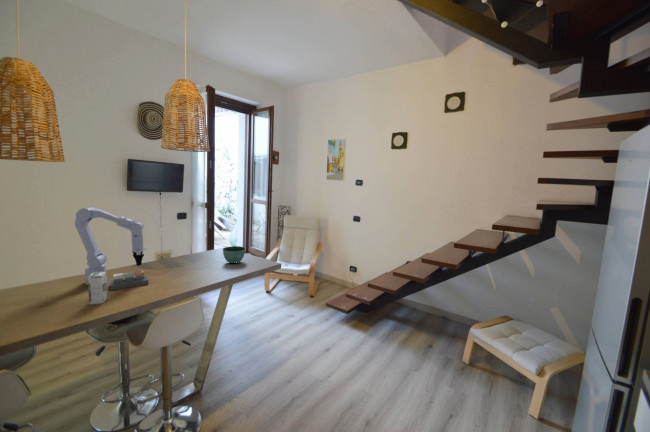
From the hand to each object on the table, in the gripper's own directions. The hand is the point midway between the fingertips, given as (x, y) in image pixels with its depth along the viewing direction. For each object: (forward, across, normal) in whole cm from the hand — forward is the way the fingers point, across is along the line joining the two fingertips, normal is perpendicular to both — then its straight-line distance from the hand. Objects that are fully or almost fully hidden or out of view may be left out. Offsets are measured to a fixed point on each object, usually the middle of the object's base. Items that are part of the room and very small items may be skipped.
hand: (138, 263), depth 172 cm
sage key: (+7, -8, +5) cm, 12 cm away
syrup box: (+10, -28, +18) cm, 35 cm away
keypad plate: (+9, -8, +5) cm, 13 cm away
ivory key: (+7, -8, +10) cm, 15 cm away
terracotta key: (+7, -8, 0) cm, 11 cm away
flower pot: (+10, +5, -60) cm, 61 cm away
